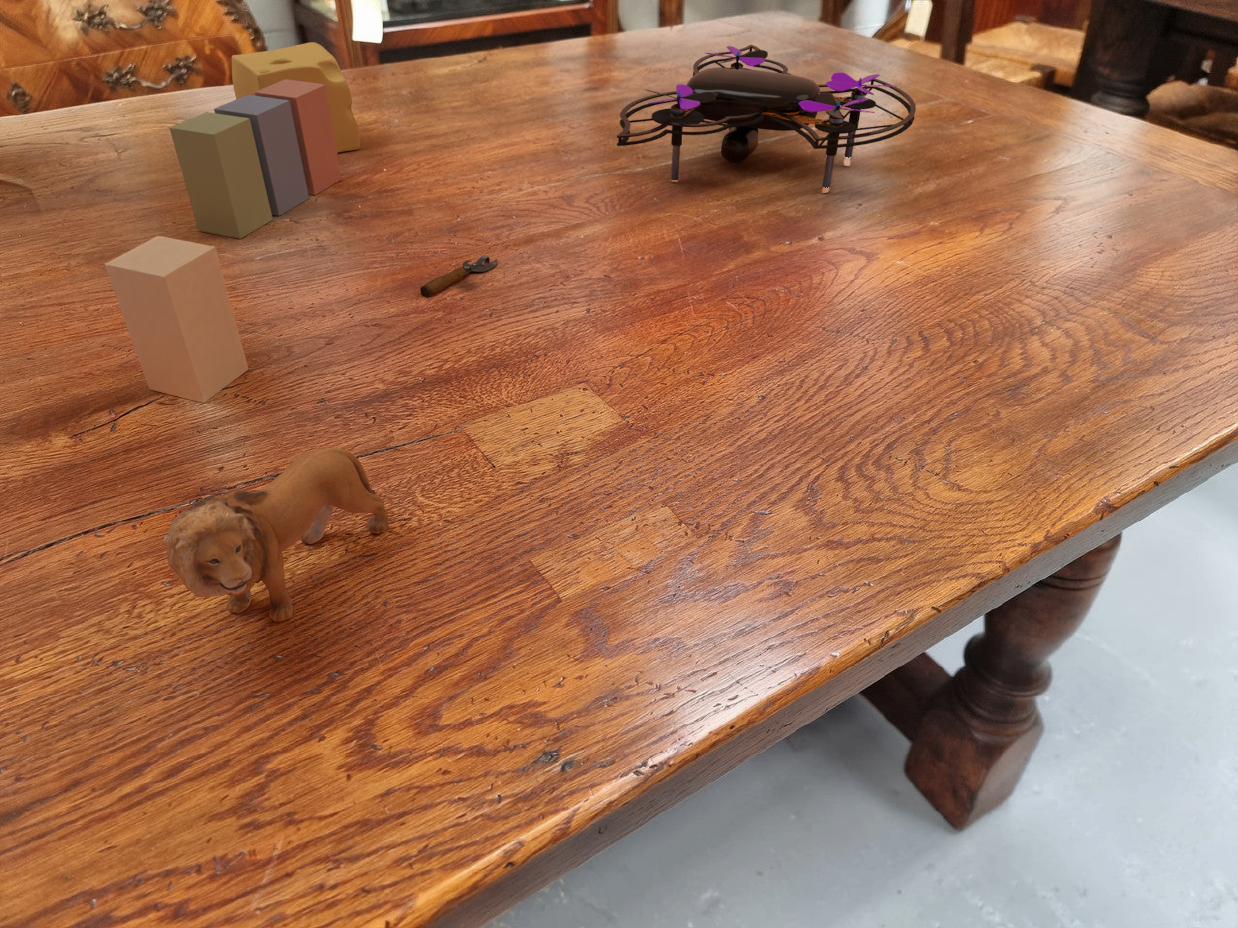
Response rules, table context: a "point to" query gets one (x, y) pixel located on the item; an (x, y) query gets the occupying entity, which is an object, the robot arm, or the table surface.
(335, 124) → the cheese
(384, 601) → the table surface
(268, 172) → the block
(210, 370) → the block
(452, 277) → the can opener
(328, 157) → the block
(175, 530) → the lion figurine
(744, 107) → the drone
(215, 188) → the block
